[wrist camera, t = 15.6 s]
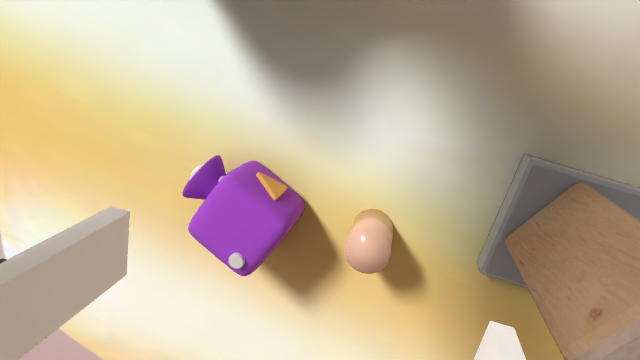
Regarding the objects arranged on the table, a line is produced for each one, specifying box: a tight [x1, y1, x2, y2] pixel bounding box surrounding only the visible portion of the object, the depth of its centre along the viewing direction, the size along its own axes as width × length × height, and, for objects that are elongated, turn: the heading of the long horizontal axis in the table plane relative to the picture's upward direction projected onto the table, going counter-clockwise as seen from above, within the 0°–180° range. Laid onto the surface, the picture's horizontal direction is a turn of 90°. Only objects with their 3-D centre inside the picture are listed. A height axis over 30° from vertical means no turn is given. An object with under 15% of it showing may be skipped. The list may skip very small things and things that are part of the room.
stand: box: [477, 154, 640, 288], centre depth 45 cm, size 14×14×3 cm
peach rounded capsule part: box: [344, 209, 393, 274], centre depth 47 cm, size 5×5×7 cm
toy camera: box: [183, 155, 305, 276], centre depth 48 cm, size 11×14×10 cm
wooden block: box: [505, 183, 640, 360], centre depth 34 cm, size 10×10×20 cm
